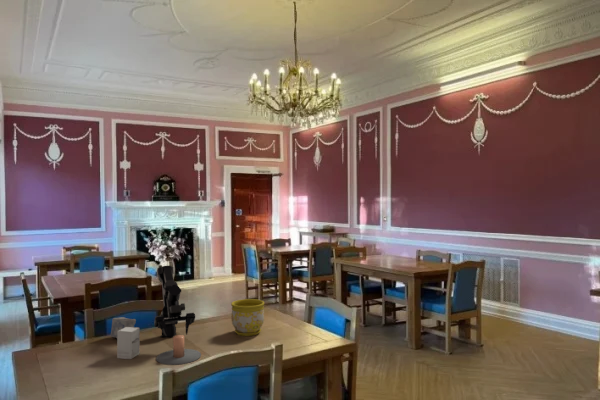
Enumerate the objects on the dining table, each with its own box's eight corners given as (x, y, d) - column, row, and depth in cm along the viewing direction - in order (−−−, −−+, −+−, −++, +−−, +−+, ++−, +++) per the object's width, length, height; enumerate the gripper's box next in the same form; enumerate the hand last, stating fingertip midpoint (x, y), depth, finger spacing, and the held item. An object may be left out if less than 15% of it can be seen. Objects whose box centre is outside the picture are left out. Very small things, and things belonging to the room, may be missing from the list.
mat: (148, 363, 204) (148, 362, 204) (168, 348, 224) (168, 347, 224) (190, 366, 200) (190, 365, 200) (207, 351, 220) (207, 350, 220)
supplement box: (131, 359, 209) (131, 331, 209) (116, 358, 210) (116, 330, 210) (140, 354, 216) (140, 327, 216) (125, 352, 218) (125, 326, 218)
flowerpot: (271, 331, 252) (271, 301, 252) (250, 339, 237) (250, 308, 237) (245, 326, 262) (245, 297, 262) (224, 334, 247) (224, 303, 247)
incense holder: (136, 336, 243) (136, 317, 243) (124, 341, 235) (123, 321, 235) (122, 334, 247) (122, 315, 247) (110, 338, 240) (110, 318, 240)
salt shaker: (171, 356, 212) (171, 336, 212) (180, 353, 216) (180, 334, 216) (177, 358, 209) (177, 338, 208) (186, 355, 212) (186, 336, 212)
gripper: (155, 299, 218) (157, 329, 208) (194, 296, 226) (199, 324, 216) (153, 312, 226) (155, 341, 216) (191, 308, 233) (195, 336, 223)
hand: (176, 335), depth 217 cm, fingers open, 9 cm apart
